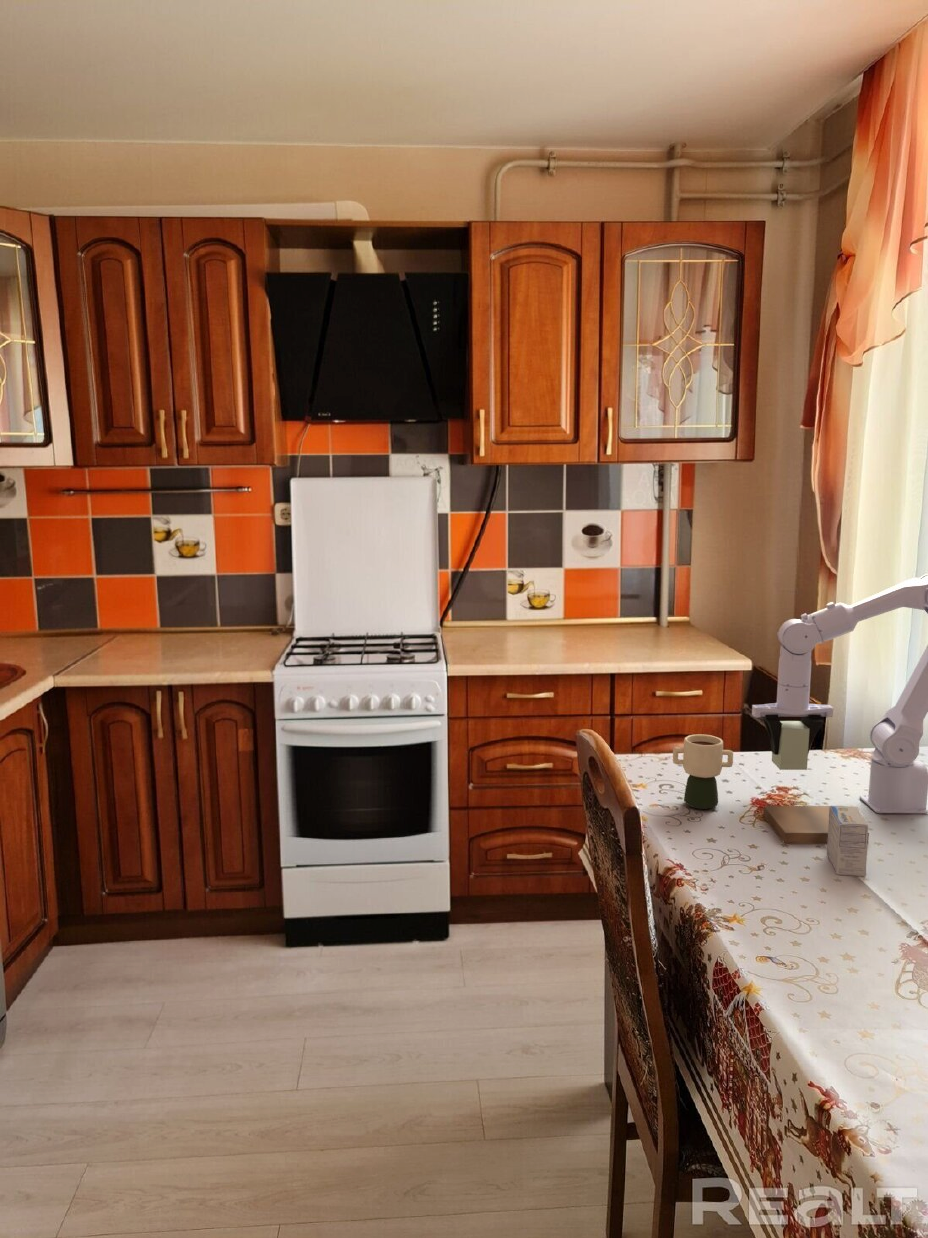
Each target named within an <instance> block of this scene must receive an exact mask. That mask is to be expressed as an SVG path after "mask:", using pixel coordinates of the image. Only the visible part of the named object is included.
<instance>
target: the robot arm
mask: <svg viewBox="0 0 928 1238" xmlns="http://www.w3.org/2000/svg"><path fill="white" fill-rule="evenodd" d="M825 606H826V607H825V608H822V609H819V610H817V611H815V612H812V613H809V614H807V613H806V612H805V613H803V614H801V615H800V618H801V619H800V618H799V619H797V618H791V619H787V620H786V621H785V622H783V623H782V625H781V626H779V629H778V632H776V633H777V638H778V641H779V642H780V644H781V645H780V650H779V658H778V669H777V670H778V672H777V689H776V702H773V703H764V704H751V715H752V717H754V718H761V720H762V722H763V724H764V726H765V729H766V731H767V735H768V739H769V742H770V751H771V753H772V752H773V754H775V755H778V753H779V738H780V731H781V727H782V723H781V722H780V721H781V720H780V718H779V717H800V718H801V719H800V721H801V722H802V723H803V724H804V725H806V726H807V727H808V728H809V745H808V755H809V753H810V750H811V747H812V744H813V742H814V739H815V737H816V735H817V733H818V732H819V731H820V730H821V728H822V727H823V725H824V724H823V723H824V720H823V719H822V717H826V718H833V715H834V707H833V706H832V705H830V704H818V703H817V704H816V703H810V694H811V678H812V677H811V676H812V675H811V674H812V651H813V650H814V649H815V647H816V645H817V644H819V645H820V644H822V643H826V642H829V641H831V640H833V639H836V638H839V637H842V636H843V635H847V634H849V633H851V632H853V631H854V630H855V629H856V627H857V624H858V623H859V622H862V621H864V620H869V619H870V618H873V617H877V616H880V615H882V614H885V613H889V612H892V611H895V610H897V609H900V608H908V609H916V610H921V611H925V612H926V614H927V615H928V573H926V574H923V575H922V576H920V577H919V578H918V577H914V578H911V579H908V580H905V581H903V582H901V583H898V584H897V585H894V586H891V587H890V588H886V589H885V590H882V591H880V592H879V593H878V592H877V593H875V594H874V595H871V596H869V597H867V598H864V599H863V600H861V601H858V602H856V603H853V604H850V605H848V604H845V603H843V602H838V603H834V602H833V601H831V602H828V603H826V604H825ZM912 671H913V672H912V673H911V675H910V677H909V679H908V681H907V683H906V684H905V686H904V689H903V690H902V692H901V694H900V696H899V698H898V700H897V702H896V704H895V705H894V706H893V707H891V708H890V709H888V710H887V711H886V712H885V714H884V716H883V717H882V718H881V719H880V720H879V721H878V722H876V723H875V724H874V725H873V726H872V727H871V729H870V732H869V739H870V743H871V744H872V745H873V746H874V750H873V752H872V754H871V759H870V768H869V769H870V770H869V780H868V781H869V783H868V794H864V795H863V794H860V795H859V799H860V800H861V801H863V802H864V803H865V805H867V806H868V807H869V808H870V809H871V810H873V811H874V812H875V813H876V814H928V809H927V803H928V802H927V801H928V768H927V765H926V764H925V763H924V762H923V761H921V760H917V758H918V756H919V753H920V741H921V740H922V737H923V736H924V720H925V718H926V716H927V715H928V644H927V645H926V647H925V649H924V651H923V653H922V655H921V657H920V658H919V661H918V662H917V665H916V666H915V667H914V669H913V670H912Z"/></svg>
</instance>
